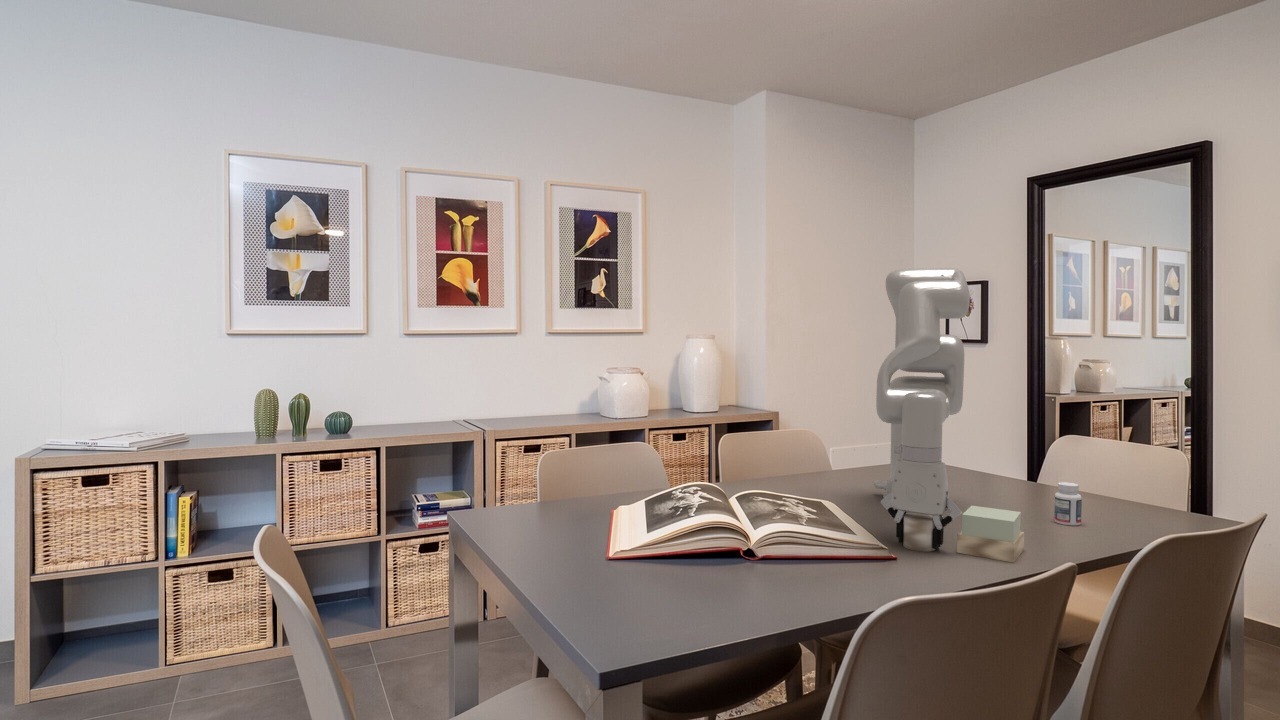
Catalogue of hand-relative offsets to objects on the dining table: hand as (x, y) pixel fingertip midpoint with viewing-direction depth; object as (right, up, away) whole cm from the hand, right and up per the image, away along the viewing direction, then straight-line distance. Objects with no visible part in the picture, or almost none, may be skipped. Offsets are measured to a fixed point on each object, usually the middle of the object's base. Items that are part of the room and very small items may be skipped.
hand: (919, 543), depth 146 cm
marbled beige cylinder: (0, -1, 0) cm, 1 cm away
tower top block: (+13, +3, -3) cm, 14 cm away
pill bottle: (+41, 0, +19) cm, 45 cm away
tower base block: (+13, -1, -2) cm, 13 cm away
